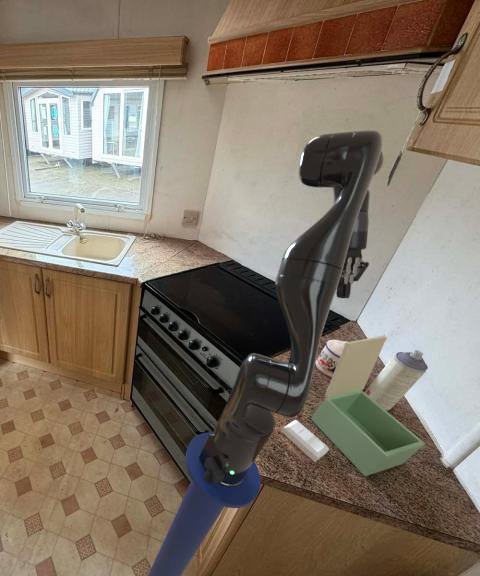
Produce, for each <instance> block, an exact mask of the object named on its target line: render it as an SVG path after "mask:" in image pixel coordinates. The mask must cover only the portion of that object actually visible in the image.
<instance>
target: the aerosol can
mask: <svg viewBox="0 0 480 576" xmlns="http://www.w3.org/2000/svg"><path fill="white" fill-rule="evenodd" d="M423 356H424V353H423V352H422V351H420V350H416V349H415V350H414V351H413V352H412V351H411V352H409V351H408V352H407V351H406V352H404V351H400V352H399V351H398V352H396V354H394V355H393V356H392V358H391V359H390V360H389V361H388V362H387V364H385V366H384V367H383V369H382V370H381V371H380V372H379V373H378V375H377V376H376V377H375V378H374V380H373V381H372V382H371V383H370V384H369V386H367V388H366V389H365V391H363V392H364V393H366V394H367V395H368V396H369V397H370V398H372V399H373V400H374V401H375V402H376V403H377V404H379V405H380V406H381V407H382V408H383V409H385V410H386V411H387V412H390V411H391V410H392V409H393V408H394V407H395V405H397V404H398V402H399V401H401V399H402V398H403V397H404V396H405V395H406V393H408V392H409V390H411V388H413V386H414V385H415V384H416V383H417V382H419V380H420V379H421V378H422V377H423V375H424V374H425V373H426V372H427V370H428V368H429V367H428V364H427V363H426V361H425V360H424V358H423Z"/></svg>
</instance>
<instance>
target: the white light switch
mask: <svg viewBox="0 0 480 576" xmlns="http://www.w3.org/2000/svg"><path fill="white" fill-rule="evenodd" d="M280 432H281V433H282V434H283V435H284V436H286V438H288V439H289V440H290V441H291V442H292V443H293V444H294V445H295V446H296V447H298V448H299V449H300V450H301V451H302V452H303V453H304V454H305V455H306V456H307V457H308V458H309V459H311V461H313V463H316V462H317V461H319V460H320V459H321V458H322V457H324V456H325V455H326V454H327V453H328V452H329V451H330V448H329V447H328V446H327V444H325V443H324V442H323V441H322V440H320V439H319V438H318V437H317V436H316V435H315V434H313V433H312V432H311V431H310V430H309V429H308V428H306V426H304V424H302V423H301V422H300V421H298V420H296V419H294V420H293V421H291V422H288V424H286V425H285V426H283V427H282V429H281V430H280Z"/></svg>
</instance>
